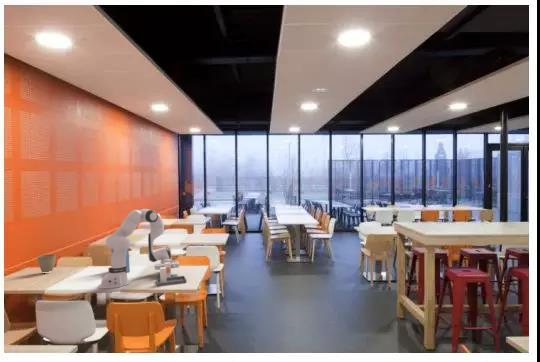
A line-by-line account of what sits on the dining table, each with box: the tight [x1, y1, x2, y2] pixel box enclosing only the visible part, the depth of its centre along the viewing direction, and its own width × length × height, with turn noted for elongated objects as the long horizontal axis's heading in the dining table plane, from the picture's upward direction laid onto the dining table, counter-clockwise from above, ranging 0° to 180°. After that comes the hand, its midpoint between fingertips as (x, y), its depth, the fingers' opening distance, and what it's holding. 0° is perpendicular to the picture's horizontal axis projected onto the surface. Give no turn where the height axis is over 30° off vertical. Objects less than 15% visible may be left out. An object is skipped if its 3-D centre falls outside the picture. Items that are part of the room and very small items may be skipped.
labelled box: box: [164, 262, 172, 278], centre depth 323 cm, size 4×5×12 cm
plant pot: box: [37, 253, 57, 273], centre depth 357 cm, size 15×15×16 cm
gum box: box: [110, 247, 131, 273], centre depth 352 cm, size 19×5×23 cm, turn 56°
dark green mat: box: [157, 274, 179, 279], centre depth 323 cm, size 16×14×1 cm
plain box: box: [159, 267, 167, 283], centre depth 305 cm, size 4×4×12 cm
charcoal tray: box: [155, 275, 187, 287], centre depth 307 cm, size 22×14×2 cm, turn 110°
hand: (167, 267), depth 322 cm, fingers open, 8 cm apart
